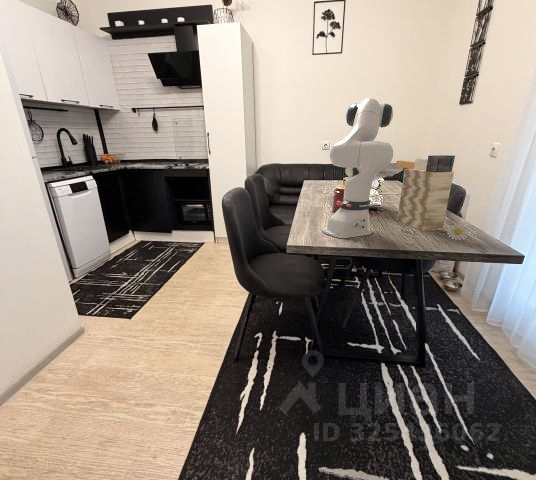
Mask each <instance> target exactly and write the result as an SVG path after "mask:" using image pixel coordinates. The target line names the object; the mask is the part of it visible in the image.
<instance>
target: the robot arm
mask: <svg viewBox="0 0 536 480" xmlns="http://www.w3.org/2000/svg"><path fill="white" fill-rule="evenodd" d="M393 118H394V110H393V106H392V105H391V104H388V103H384V104H383V103H380V102H379V101H378V100H377V99H375V98H371V97H370V98H365V99H363V100H362V101H361V102H360V103H353V104H351V105H350V106H348V108H347V111H346V113H345V121H346V124H347V125H348V126H350V127H352V128H351V131H350V132H349V134H348V135H347V136H346V137H344V138H343V139H342V140H341V141H338V142H336V143H334V144H333V145H332V147H331V149H330V152H329V159H330V162H331V164H332V165H333V166H336V167H340V168H344V171H345V175H346V176H347V177H348V179H347V180H345V181H346V182H345V188H344V199H343V200H342V202H341V201H337V202H336V203H337V205H339V206H340V209H339V210H337V211H336V212H333V214H332V215H331V216H330V217H329V218H328V221H327V226H326V227H323V228H321V232H322V233H324V234H326V235H328V236H331V237H334V238H338V239H350V238H354V237H362V236H368V235H371V234H372V233H371V230H370V224H371V223H370V221H371V220H370V212H369V209H370V206H371V200H370V198H371V197H370V195H371V189H372V185H373V182H375V181H377V180H380V179H383V178H389V177H393V176H394V175H396V174H399V173H401V172H402V171H404V168H403V167H396V163H394V162H392V160H393V158H394V149H393V147H392V145H391V144H390V143H389V142H385V141H379V140H376V138H377V136H378V133H379V128H385V127H388V126H389V125H390V123H391V121H392V120H393Z"/></svg>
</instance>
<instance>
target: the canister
mask: <svg viewBox="0 0 536 480" xmlns="http://www.w3.org/2000/svg"><path fill="white" fill-rule="evenodd" d="M346 181H347V180H344V181H343V182H342V184H338V185H335V187H334V188H335V189H334V190H333V196H332V208H331V209H332V212H333V213H335V212H336V211H337V210H339V209H340V206H339V205H337V203H336V202H337V201H341V202H342V200H343V199H344V188H345V182H346Z"/></svg>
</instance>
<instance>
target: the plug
mask: <svg viewBox="0 0 536 480" xmlns="http://www.w3.org/2000/svg"><path fill="white" fill-rule="evenodd" d="M427 161H428V157H423V158H421V157H420V158H418V157H417V158H416V157H415V161H409V160H396V167H403V169H415V170H422V171H426V166H427Z"/></svg>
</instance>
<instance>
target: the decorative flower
mask: <svg viewBox="0 0 536 480" xmlns="http://www.w3.org/2000/svg"><path fill="white" fill-rule="evenodd" d="M467 228H468V227H467V226H465V225H464V224H461V223H458V224H457V223H454V224H450V226H448V229H447V230H446V232H445V231H443V230H435V231H436V232H440V233H443V234H447V235H448V237H449V238H451V240H454V241H459V240H461V241H462V240H466V238H468V235H469V234H470V233H469V229H467Z"/></svg>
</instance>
